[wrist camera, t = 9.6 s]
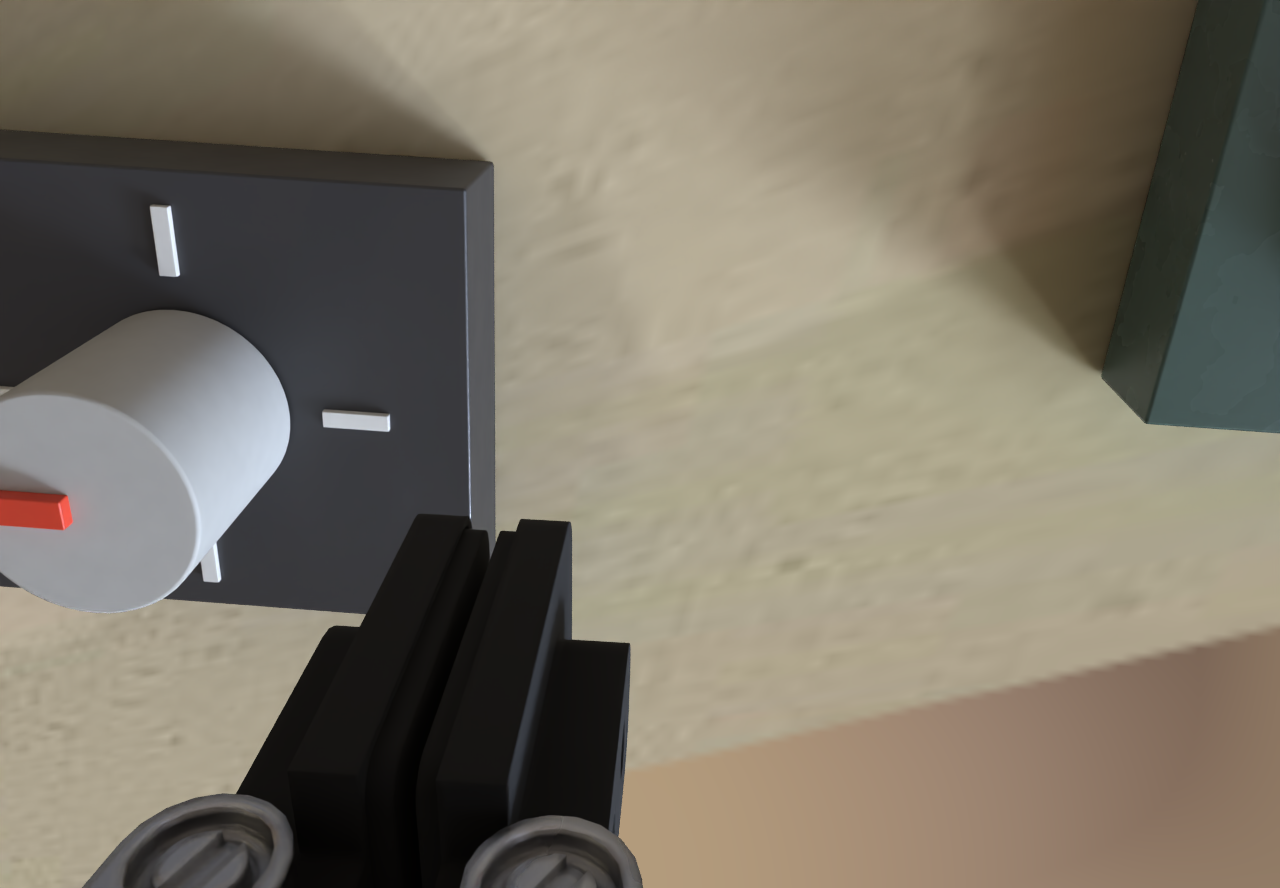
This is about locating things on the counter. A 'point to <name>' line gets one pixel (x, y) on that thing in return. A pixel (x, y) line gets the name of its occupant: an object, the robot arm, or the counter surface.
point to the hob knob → (134, 459)
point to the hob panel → (282, 328)
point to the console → (1210, 238)
